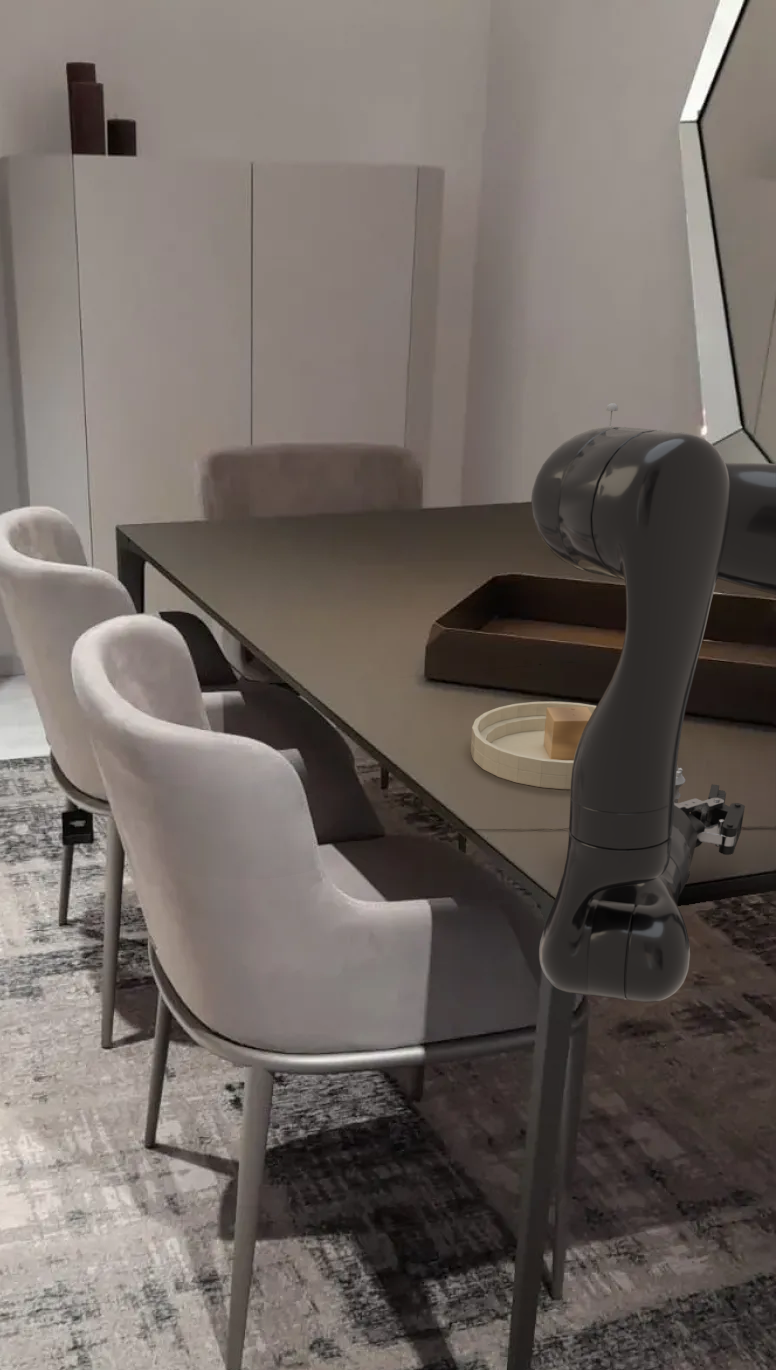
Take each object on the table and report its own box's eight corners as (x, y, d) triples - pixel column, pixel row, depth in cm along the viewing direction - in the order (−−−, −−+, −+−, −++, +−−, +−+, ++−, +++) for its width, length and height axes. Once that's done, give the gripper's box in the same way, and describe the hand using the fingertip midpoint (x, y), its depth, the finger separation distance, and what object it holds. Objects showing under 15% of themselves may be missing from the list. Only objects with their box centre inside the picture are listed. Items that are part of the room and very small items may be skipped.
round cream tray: (627, 729, 158) (630, 700, 157) (670, 793, 141) (674, 761, 140) (461, 731, 158) (462, 702, 157) (483, 794, 141) (485, 763, 140)
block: (583, 745, 152) (587, 706, 150) (592, 760, 148) (596, 720, 146) (543, 745, 152) (546, 707, 150) (550, 760, 148) (554, 720, 146)
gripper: (739, 828, 109) (752, 759, 123) (560, 805, 114) (592, 740, 127) (726, 912, 112) (740, 835, 126) (553, 886, 117) (584, 815, 131)
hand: (666, 788), depth 127 cm, fingers open, 8 cm apart
